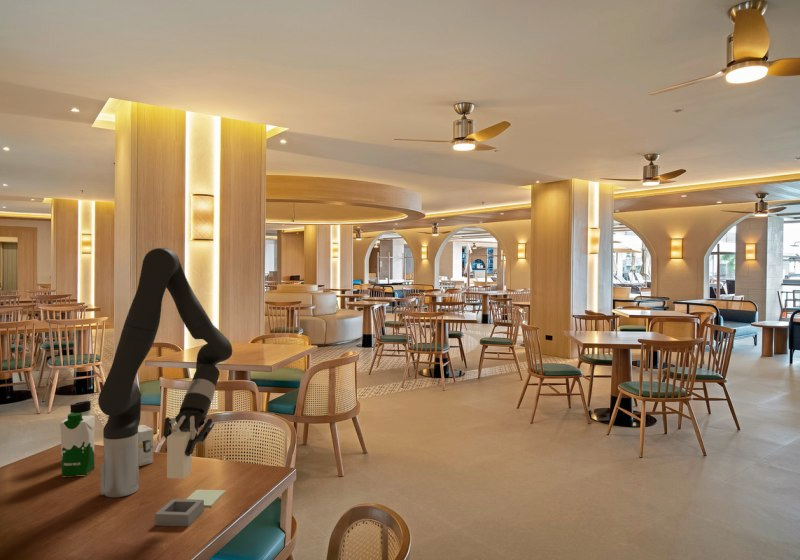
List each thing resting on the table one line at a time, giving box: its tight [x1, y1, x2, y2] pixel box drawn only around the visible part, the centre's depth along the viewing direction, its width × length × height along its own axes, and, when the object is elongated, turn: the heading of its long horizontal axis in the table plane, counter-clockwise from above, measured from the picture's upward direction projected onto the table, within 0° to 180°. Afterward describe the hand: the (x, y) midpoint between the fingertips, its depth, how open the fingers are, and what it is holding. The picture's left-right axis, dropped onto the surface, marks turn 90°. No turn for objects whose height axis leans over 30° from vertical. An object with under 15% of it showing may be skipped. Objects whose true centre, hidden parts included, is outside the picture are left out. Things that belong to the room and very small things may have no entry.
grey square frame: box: [154, 498, 205, 527], centre depth 141 cm, size 9×9×3 cm
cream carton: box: [166, 432, 192, 480], centre depth 141 cm, size 4×4×11 cm
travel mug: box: [69, 400, 92, 416], centre depth 187 cm, size 6×7×20 cm
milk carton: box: [59, 413, 96, 477], centre depth 172 cm, size 9×9×20 cm
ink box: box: [138, 424, 154, 467], centre depth 182 cm, size 9×5×12 cm, turn 50°
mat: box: [186, 489, 227, 508], centre depth 153 cm, size 9×10×1 cm
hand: (177, 454), depth 140 cm, fingers closed on cream carton, 4 cm apart
